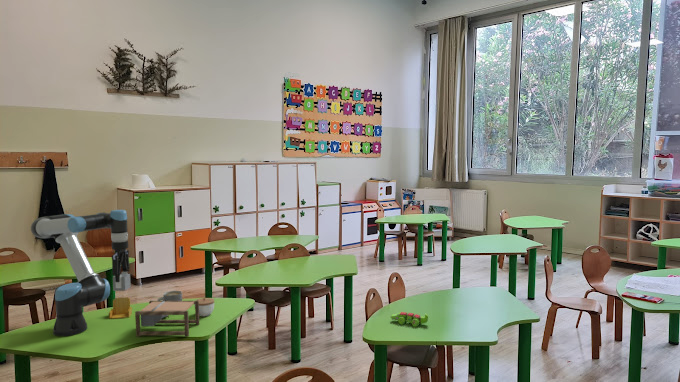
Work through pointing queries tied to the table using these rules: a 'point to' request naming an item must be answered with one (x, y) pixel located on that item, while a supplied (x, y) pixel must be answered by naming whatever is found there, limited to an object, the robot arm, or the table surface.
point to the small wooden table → (162, 306)
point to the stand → (185, 321)
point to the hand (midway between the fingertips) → (121, 286)
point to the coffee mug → (171, 296)
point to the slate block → (125, 282)
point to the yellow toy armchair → (120, 308)
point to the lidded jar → (205, 306)
